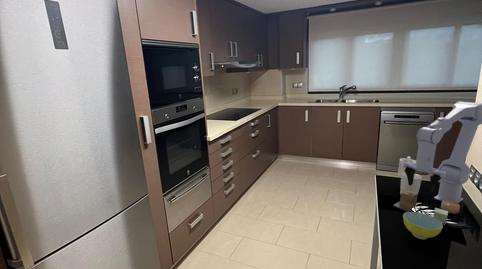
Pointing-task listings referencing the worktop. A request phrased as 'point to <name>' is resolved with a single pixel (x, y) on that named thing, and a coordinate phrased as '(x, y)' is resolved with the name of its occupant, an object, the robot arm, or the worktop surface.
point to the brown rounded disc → (450, 206)
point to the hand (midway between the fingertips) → (420, 188)
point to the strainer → (403, 164)
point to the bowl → (422, 225)
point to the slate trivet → (401, 207)
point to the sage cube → (440, 215)
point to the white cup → (413, 187)
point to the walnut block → (408, 199)
